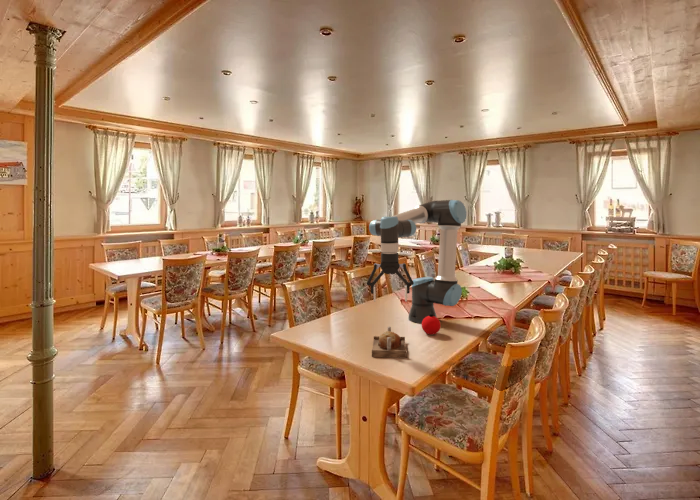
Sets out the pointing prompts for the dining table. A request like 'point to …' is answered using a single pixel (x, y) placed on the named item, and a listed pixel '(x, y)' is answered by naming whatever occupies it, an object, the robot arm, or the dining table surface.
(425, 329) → the ornament
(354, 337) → the dining table surface
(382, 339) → the bread roll
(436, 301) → the robot arm
